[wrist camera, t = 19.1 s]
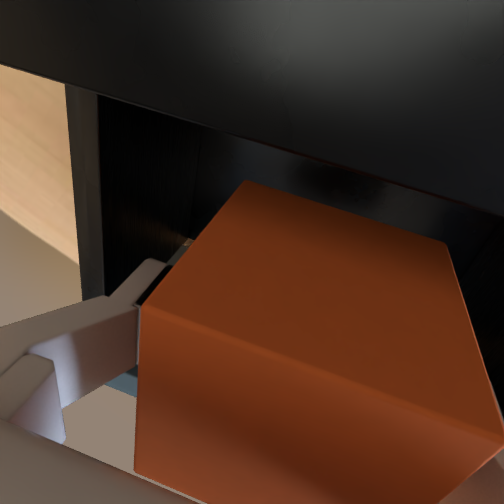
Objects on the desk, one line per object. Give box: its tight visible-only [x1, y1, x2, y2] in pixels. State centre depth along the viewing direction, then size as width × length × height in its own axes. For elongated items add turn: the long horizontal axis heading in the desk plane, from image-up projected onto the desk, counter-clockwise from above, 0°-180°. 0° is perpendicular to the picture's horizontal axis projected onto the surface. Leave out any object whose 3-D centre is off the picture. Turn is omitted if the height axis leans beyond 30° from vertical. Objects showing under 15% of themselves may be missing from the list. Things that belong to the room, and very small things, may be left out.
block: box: [134, 180, 504, 504], centre depth 8 cm, size 5×5×5 cm
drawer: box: [65, 84, 504, 504], centre depth 13 cm, size 18×14×8 cm
